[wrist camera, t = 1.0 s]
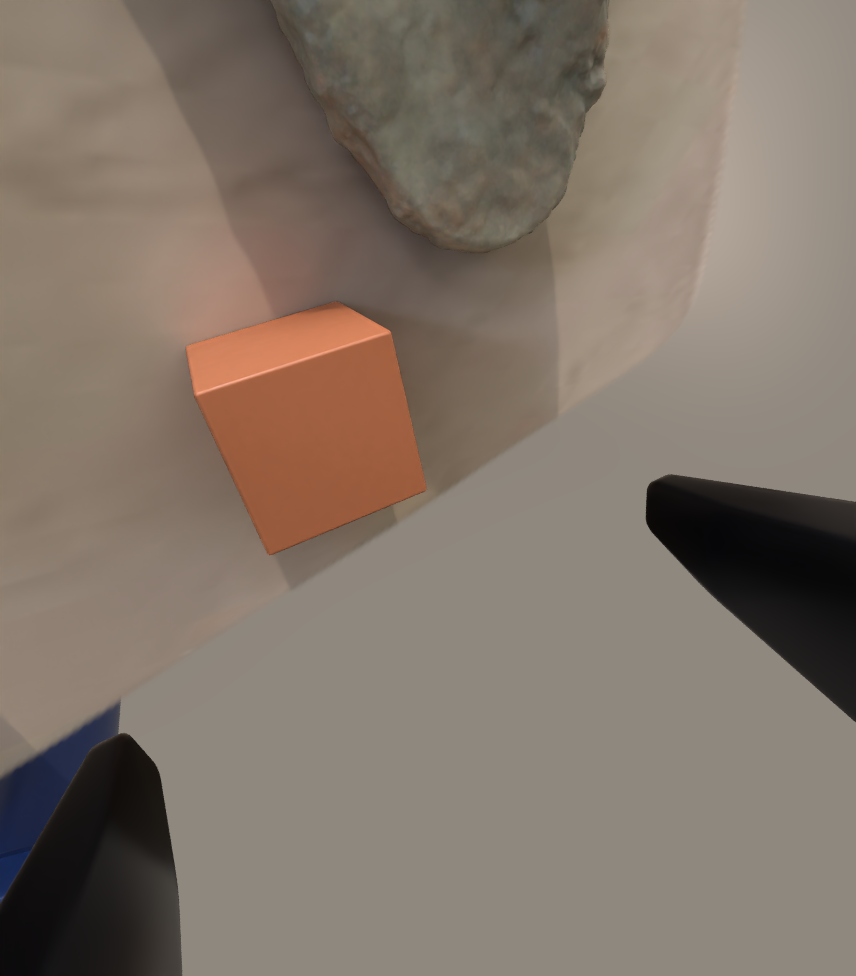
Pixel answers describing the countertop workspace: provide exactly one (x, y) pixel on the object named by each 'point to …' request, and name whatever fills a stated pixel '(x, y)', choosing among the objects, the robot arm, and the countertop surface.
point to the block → (309, 420)
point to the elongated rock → (456, 103)
